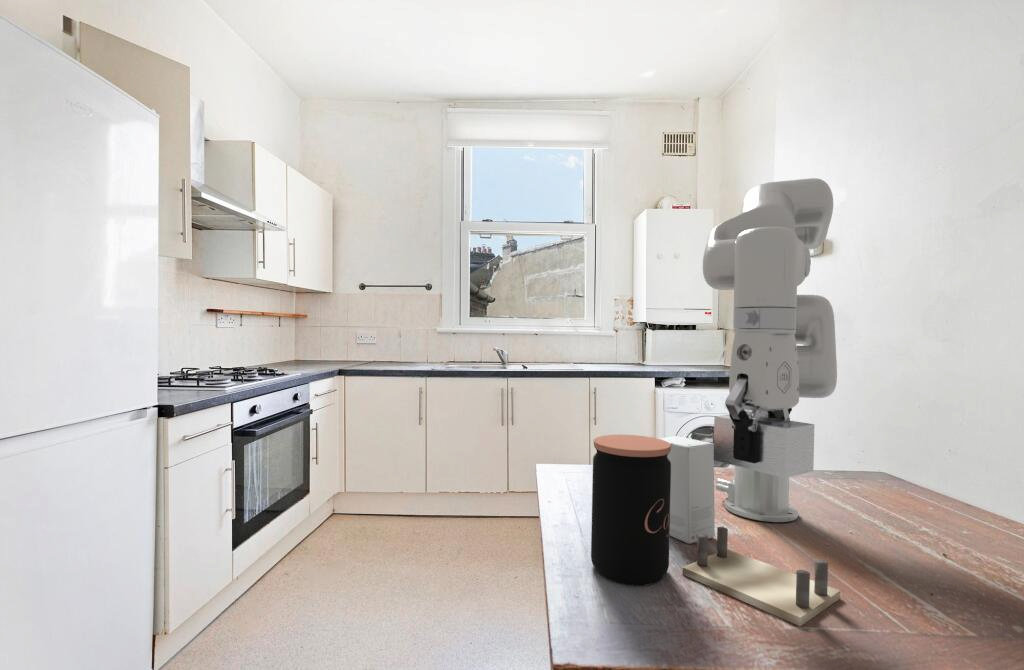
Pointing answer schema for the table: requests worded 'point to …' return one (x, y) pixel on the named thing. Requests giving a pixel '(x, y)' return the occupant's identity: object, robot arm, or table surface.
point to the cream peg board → (762, 581)
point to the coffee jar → (631, 509)
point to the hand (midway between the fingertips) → (760, 456)
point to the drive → (770, 446)
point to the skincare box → (691, 488)
